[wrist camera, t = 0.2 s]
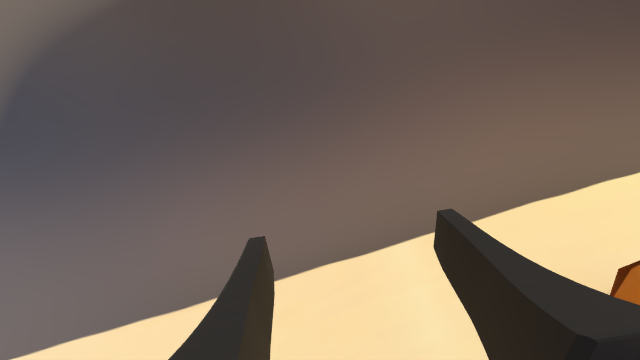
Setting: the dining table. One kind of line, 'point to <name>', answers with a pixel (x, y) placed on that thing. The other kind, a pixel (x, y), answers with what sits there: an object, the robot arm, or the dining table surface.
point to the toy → (627, 283)
